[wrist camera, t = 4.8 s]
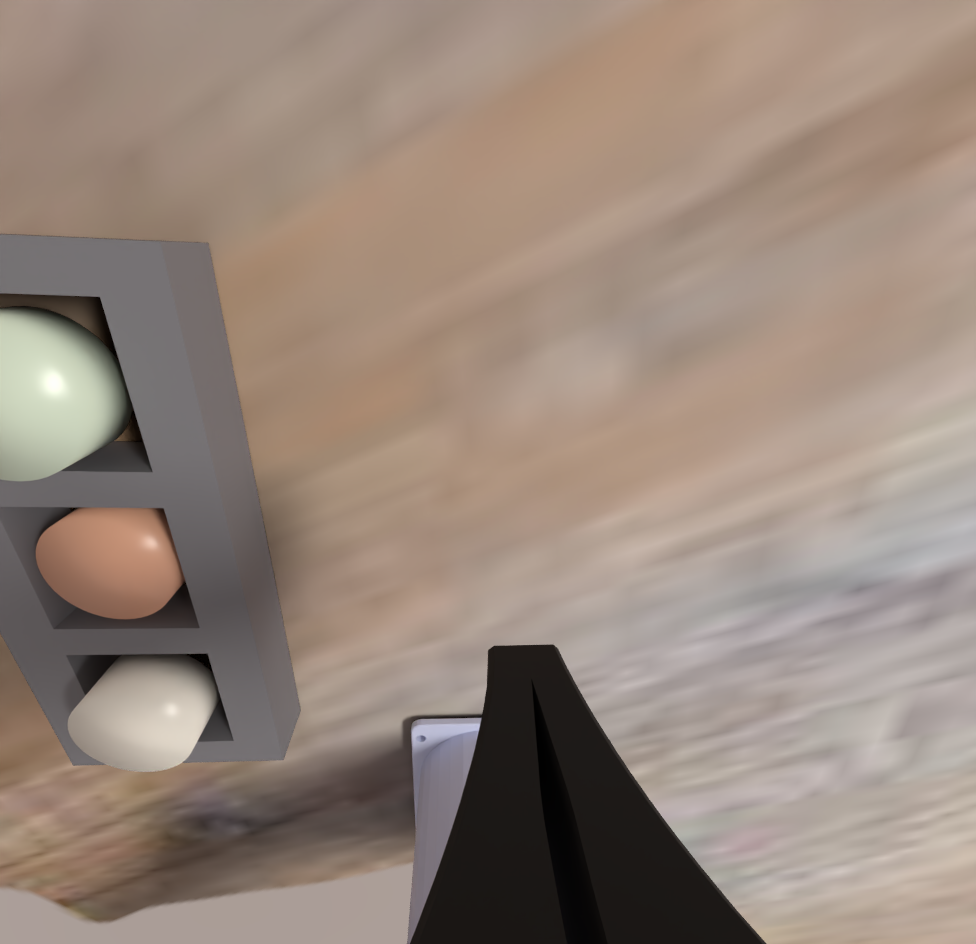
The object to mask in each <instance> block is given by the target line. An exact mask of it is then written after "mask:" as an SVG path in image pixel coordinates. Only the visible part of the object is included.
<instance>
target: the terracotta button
mask: <svg viewBox="0 0 976 944" xmlns="http://www.w3.org/2000/svg"><path fill="white" fill-rule="evenodd" d="M36 561H37V565H38V568H39V570H40V572H41V574H42V576H43V578H44V579H45V581H46V582H47V583H48V585H49V586H50V587H51V588H52V589H53V590H54V591H55V592H56V593H57V594H58V595H59V596H61V597H62V598H63V599H65V600H66V601H67V602H69V603H71V604H72V605H74V606H76V607H78V608H80V609H82V610H84V611H87V612H89V613H92V614H95V615H98V616H102V617H107V618H113V619H136V618H142V617H145V616H148V615H151V614H153V613H155V612H157V611H158V610H160V609H161V608H162V607H164V606H165V605H166V603H167V602H168V601H169V600H170V599H171V597H172V596H173V595H174V594H175V593H176V591H177V590H178V589H179V588H180V587H181V585H182V584H183V583H184V582H185V577H184V574H183V571H182V567H181V564H180V561H179V557H178V554H177V551H176V547H175V544H174V541H173V538H172V534H171V531H170V528H169V524H168V521H167V518H166V514H165V511H164V508H85V507H79V508H77V509H76V510H74V511H73V512H71V513H70V514H68V515H67V516H65V517H64V518H62V519H61V520H59V521H58V522H56V523H55V524H53V525H52V526H50V527H49V528H48V529H47V530H46V531H45V532H44V533H43V534H42V535H41V537H40V538H39V540H38V543H37V546H36Z"/></svg>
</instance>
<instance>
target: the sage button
mask: <svg viewBox="0 0 976 944" xmlns="http://www.w3.org/2000/svg"><path fill="white" fill-rule="evenodd" d="M131 414H132V402H131V398H130V395H129V392H128V388H127V385H126V382H125V378H124V375H123V372H122V368H121V365H120V363H119V362H118V360H117V359H116V357H115V356H114V355H113V353H112V352H111V351H110V350H109V349H108V347H107V346H106V345H105V344H104V343H103V342H102V341H101V340H100V339H99V338H97V337H96V336H95V335H94V334H93V333H91V332H90V331H89V330H87V329H86V328H85V327H83V326H82V325H80V324H78V323H77V322H75V321H73V320H71V319H70V318H67V317H65V316H63V315H61V314H58V313H55V312H52V311H49V310H46V309H41V308H37V307H28V306H15V307H6V308H0V479H1V480H7V481H33V480H39V479H42V478H46V477H49V476H51V475H53V474H55V473H57V472H59V471H61V470H62V469H64V468H66V467H68V466H70V465H72V464H73V463H75V462H77V461H79V460H81V459H82V458H84V457H86V456H88V455H90V454H92V453H93V452H95V451H97V450H99V449H101V448H103V447H104V446H106V445H108V444H110V443H112V442H113V441H114V440H116V439H117V438H118V437H119V436H120V435H121V434H122V433H123V432H124V430H125V429H126V427H127V425H128V423H129V421H130V418H131Z"/></svg>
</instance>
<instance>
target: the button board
mask: <svg viewBox="0 0 976 944" xmlns="http://www.w3.org/2000/svg"><path fill="white" fill-rule="evenodd" d="M0 293H9V294H37V295H64V296H92V297H100V299H101V302H102V305H103V309H104V312H105V315H106V319H107V322H108V325H109V329H110V332H111V335H112V339H113V342H114V345H115V349H116V352H117V355H118V358H119V362H120V365H121V368H122V372H123V375H124V378H125V382H126V385H127V388H128V392H129V395H130V398H131V402H132V405H133V408H134V412H135V415H136V418H137V421H138V425H139V428H140V431H141V435H142V438H143V441H144V442H125V441H113V442H112V443H110V444H108V445H106V446H104V447H103V448H101V449H99V450H97V451H95V452H93V453H92V454H90V455H88V456H86V457H84V458H82V459H81V460H79V461H77V462H75V463H73V464H72V465H70V466H68V467H66V468H64V469H62V470H61V471H59V472H57V473H55V474H53V475H51V476H49V477H46V478H42V479H39V480H33V481H7V480H1V479H0V633H1V635H2V637H3V639H4V641H5V643H6V644H7V646H8V648H9V650H10V652H11V653H12V655H13V657H14V659H15V661H16V662H17V664H18V666H19V668H20V670H21V672H22V673H23V675H24V677H25V679H26V681H27V682H28V684H29V686H30V688H31V690H32V692H33V693H34V695H35V697H36V699H37V701H38V702H39V704H40V706H41V708H42V710H43V712H44V713H45V715H46V717H47V719H48V721H49V722H50V724H51V726H52V728H53V730H54V732H55V733H56V735H57V737H58V739H59V741H60V742H61V744H62V746H63V748H64V750H65V752H66V753H67V755H68V757H69V759H70V761H71V762H72V764H73V766H74V765H107V764H104V763H102V762H100V761H98V760H96V759H94V758H92V757H90V756H89V755H87V754H86V753H85V752H83V751H82V750H81V749H80V748H79V747H78V746H77V745H76V744H75V743H74V741H73V740H72V738H71V736H70V734H69V731H68V719H69V716H70V714H71V712H72V711H73V710H74V709H75V707H76V706H77V705H78V704H79V703H80V702H81V700H82V699H83V698H84V697H85V696H86V694H87V693H88V692H89V691H90V690H91V689H92V687H93V686H94V685H95V684H96V683H97V681H98V680H99V679H100V678H101V677H102V676H103V674H104V673H105V672H106V671H107V670H108V668H109V667H110V666H111V665H112V664H113V662H114V661H115V660H116V659H117V658H119V657H120V656H122V655H127V654H208V657H209V660H210V664H211V667H212V670H213V673H214V677H215V680H216V683H217V687H218V690H219V693H220V699H219V702H218V704H217V706H216V708H215V709H214V711H213V713H212V715H211V717H210V719H209V721H208V722H207V724H206V726H205V728H204V730H203V732H202V734H201V735H200V737H199V739H198V741H197V743H196V745H195V747H194V748H193V750H192V752H191V754H190V755H189V757H188V758H187V759H186V760H185V761H183V762H182V763H190V762H229V761H268V760H284V757H285V754H286V751H287V748H288V745H289V742H290V740H291V737H292V734H293V731H294V728H295V725H296V722H297V720H298V717H299V714H300V711H301V710H300V705H299V700H298V695H297V689H296V684H295V679H294V674H293V669H292V664H291V659H290V654H289V649H288V644H287V639H286V634H285V629H284V624H283V619H282V614H281V608H280V603H279V598H278V593H277V588H276V583H275V578H274V573H273V568H272V563H271V558H270V553H269V548H268V543H267V538H266V533H265V528H264V522H263V517H262V512H261V507H260V502H259V497H258V492H257V487H256V482H255V477H254V472H253V467H252V462H251V457H250V452H249V447H248V441H247V436H246V431H245V426H244V421H243V416H242V411H241V406H240V401H239V396H238V391H237V386H236V381H235V376H234V371H233V366H232V361H231V355H230V350H229V345H228V340H227V335H226V330H225V325H224V320H223V315H222V310H221V305H220V300H219V295H218V290H217V285H216V280H215V274H214V269H213V264H212V259H211V254H210V249H209V244H208V243H198V242H176V241H153V240H130V239H107V238H84V237H62V236H39V235H16V234H0ZM70 507H85V508H164V511H165V514H166V518H167V521H168V524H169V528H170V531H171V534H172V538H173V541H174V544H175V547H176V551H177V554H178V557H179V561H180V564H181V567H182V571H183V574H184V577H185V581H186V584H187V585H181V587H180V588H179V589H178V590H177V591H176V593H175V594H174V595H173V596H172V597H171V599H170V600H169V601H168V602H167V603H166V605H165V606H164V607H162V608H161V609H160V610H158V611H157V612H155V613H153V614H151V615H148V616H145V617H142V618H136V619H113V618H107V617H102V616H98V615H95V614H92V613H89V612H87V611H84V610H82V609H80V608H78V607H76V606H74V605H72V604H71V603H69V602H67V601H66V600H65V599H63V598H62V597H61V596H59V595H58V594H57V593H56V592H55V591H54V590H53V589H52V588H51V587H50V586H49V585H48V583H47V582H46V581H45V579H44V578H43V576H42V574H41V572H40V570H39V568H38V565H37V561H36V546H37V543H38V540H39V538H40V537H41V535H42V534H43V533H44V532H45V531H46V530H47V529H48V528H49V527H50V526H52V525H53V524H55V523H56V522H58V521H59V520H61V519H62V518H64V517H65V516H67V515H68V514H70V513H71V509H70Z"/></svg>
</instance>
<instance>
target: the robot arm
mask: <svg viewBox="0 0 976 944" xmlns="http://www.w3.org/2000/svg"><path fill="white" fill-rule="evenodd" d="M411 742H412V763H413V784H414V805H415V826H416V837H415V850H414V863H413V877H412V889H411V902H410V915H409V927H408V941H407V944H766V943H765V942H764V941H763V939H762V938H761V937H760V936H759V935H758V934H757V933H756V932H755V930H754V929H753V928H752V927H751V926H750V925H749V924H748V923H747V921H746V920H745V919H744V918H743V917H742V916H741V915H740V914H739V912H738V911H737V910H736V909H735V908H734V907H733V905H732V904H731V903H730V902H729V901H728V899H727V898H726V897H725V896H724V895H723V893H722V892H721V891H720V890H719V888H718V887H717V886H716V885H715V884H714V882H713V881H712V880H711V879H710V878H709V876H708V875H707V874H706V873H705V871H704V870H703V869H702V868H701V867H700V865H699V864H698V863H697V862H696V860H695V859H694V858H693V856H692V855H691V854H690V853H689V851H688V850H687V849H686V848H685V846H684V845H683V844H682V842H681V841H680V840H679V839H678V837H677V836H676V835H675V833H674V832H673V831H672V829H671V828H670V827H669V825H668V824H667V823H666V821H665V820H664V819H663V817H662V816H661V815H660V813H659V812H658V811H657V809H656V808H655V807H654V805H653V804H652V802H651V801H650V800H649V798H648V797H647V795H646V794H645V793H644V791H643V790H642V788H641V787H640V785H639V784H638V783H637V781H636V780H635V778H634V777H633V775H632V774H631V773H630V771H629V770H628V768H627V767H626V765H625V764H624V762H623V761H622V759H621V758H620V756H619V755H618V753H617V752H616V750H615V748H614V747H613V745H612V744H611V742H610V740H609V739H608V737H607V736H606V734H605V733H604V731H603V729H602V728H601V726H600V725H599V723H598V722H597V720H596V718H595V717H594V715H593V713H592V712H591V710H590V708H589V707H588V705H587V703H586V701H585V700H584V698H583V696H582V694H581V693H580V691H579V689H578V687H577V685H576V684H575V682H574V680H573V678H572V676H571V674H570V672H569V670H568V669H567V667H566V665H565V663H564V661H563V659H562V657H561V654H560V652H559V650H558V648H556V647H555V646H554V645H514V646H493V647H492V648H491V649H489V650H488V672H487V690H486V696H485V703H484V709H483V714H482V718H448V719H418V720H416V721H414V722H413V723H412V727H411Z"/></svg>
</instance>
